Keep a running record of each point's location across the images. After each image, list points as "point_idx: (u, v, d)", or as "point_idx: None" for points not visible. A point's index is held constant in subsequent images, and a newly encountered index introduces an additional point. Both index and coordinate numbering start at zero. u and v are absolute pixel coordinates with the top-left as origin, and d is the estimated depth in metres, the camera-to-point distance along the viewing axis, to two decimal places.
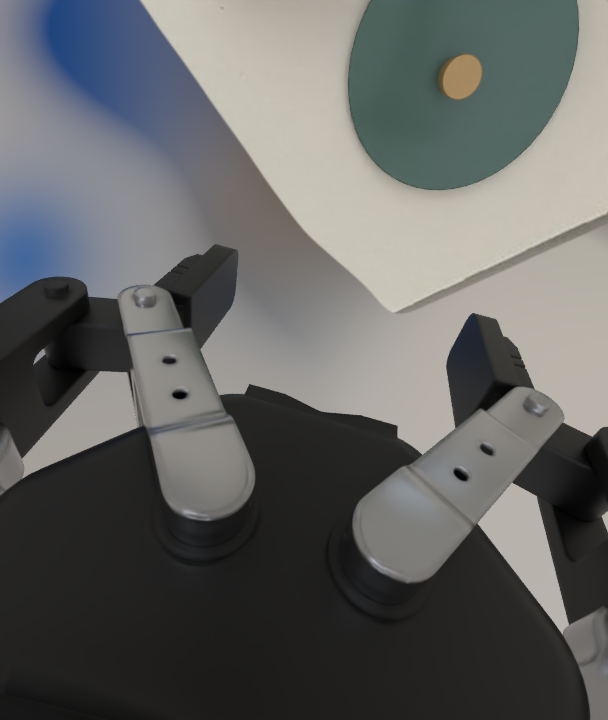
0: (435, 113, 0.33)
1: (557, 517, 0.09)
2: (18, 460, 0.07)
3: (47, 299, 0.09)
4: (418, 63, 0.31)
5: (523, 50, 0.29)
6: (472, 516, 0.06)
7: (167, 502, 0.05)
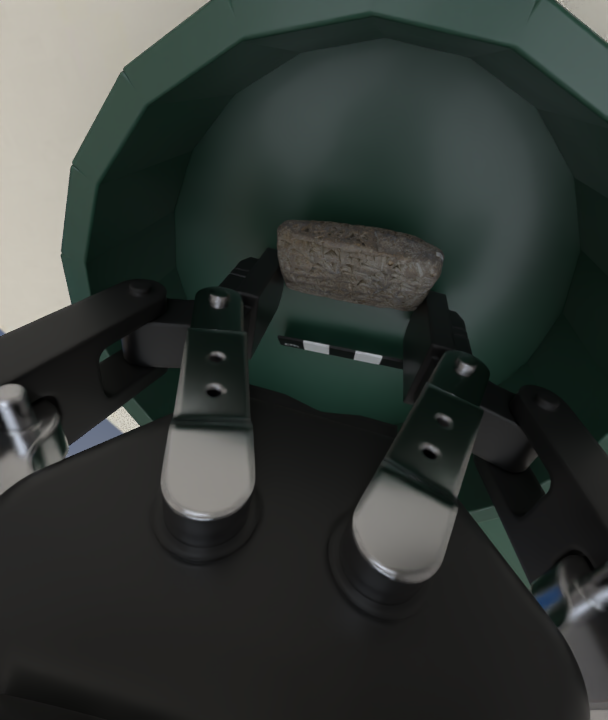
0: None
1: (495, 477, 0.10)
2: (61, 445, 0.07)
3: (129, 297, 0.09)
4: None
5: None
6: (451, 492, 0.06)
7: (161, 490, 0.05)
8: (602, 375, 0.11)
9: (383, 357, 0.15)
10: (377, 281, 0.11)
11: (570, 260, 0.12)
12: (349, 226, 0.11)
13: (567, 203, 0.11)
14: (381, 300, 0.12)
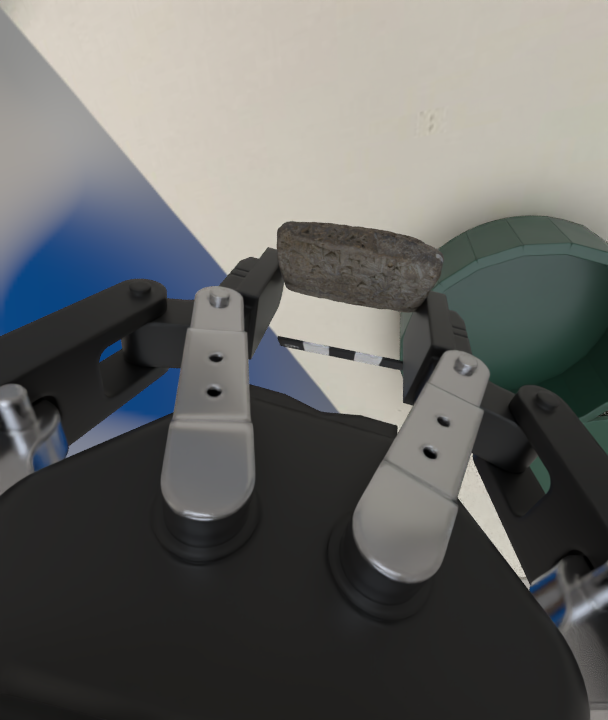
0: None
1: (495, 476, 0.10)
2: (62, 444, 0.07)
3: (129, 298, 0.09)
4: None
5: None
6: (451, 492, 0.06)
7: (162, 490, 0.05)
8: None
9: (383, 358, 0.15)
10: (377, 283, 0.11)
11: None
12: (349, 228, 0.11)
13: None
14: (381, 301, 0.12)
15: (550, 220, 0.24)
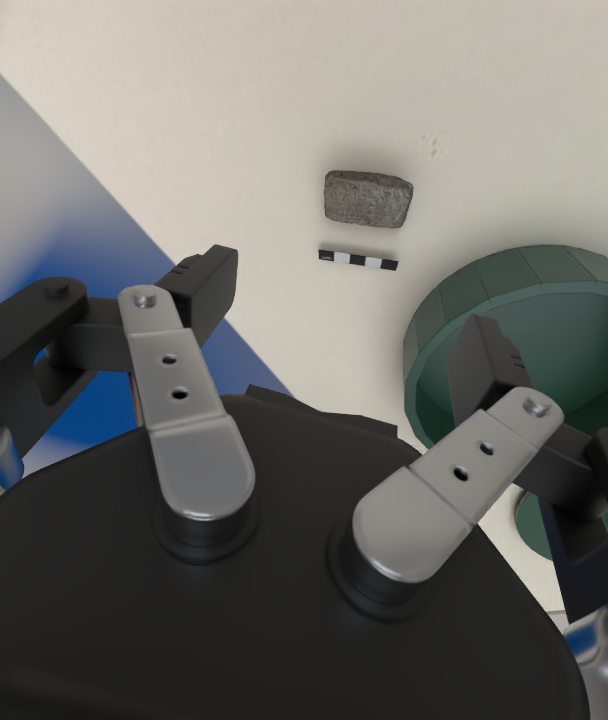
0: None
1: (557, 517, 0.09)
2: (18, 460, 0.07)
3: (47, 298, 0.09)
4: None
5: None
6: (472, 516, 0.06)
7: (167, 502, 0.05)
8: None
9: (382, 259, 0.25)
10: (378, 203, 0.21)
11: None
12: (364, 172, 0.21)
13: None
14: (381, 218, 0.22)
15: (567, 251, 0.22)
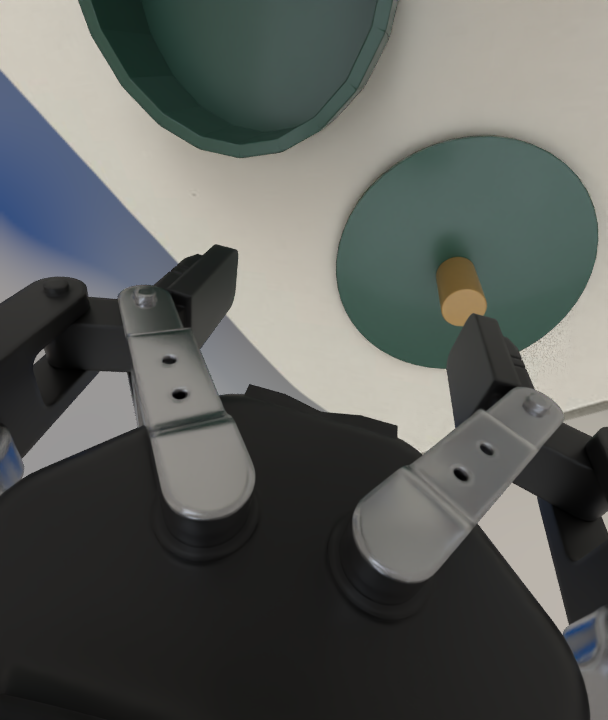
0: (435, 304, 0.29)
1: (557, 517, 0.09)
2: (18, 460, 0.07)
3: (47, 299, 0.09)
4: (414, 260, 0.27)
5: (533, 255, 0.26)
6: (472, 516, 0.06)
7: (167, 502, 0.05)
8: None
9: None
10: None
11: None
12: None
13: None
14: None
15: None
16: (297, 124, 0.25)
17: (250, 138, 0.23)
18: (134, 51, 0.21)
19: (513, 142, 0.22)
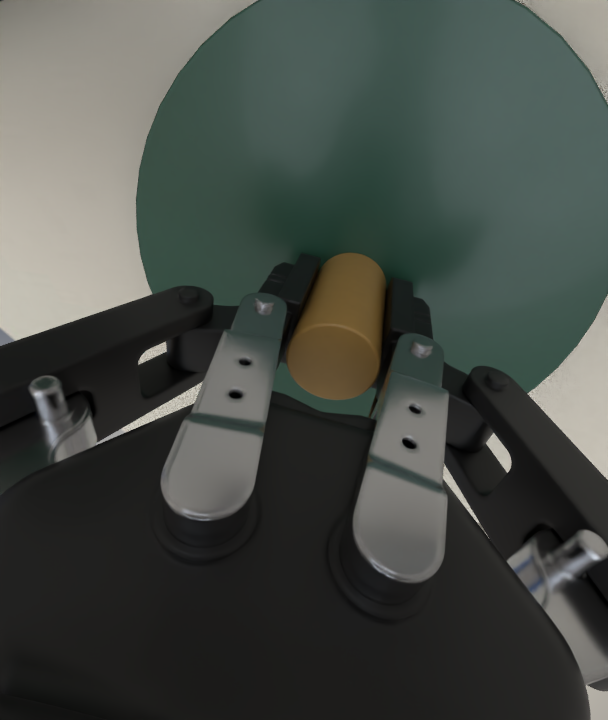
0: None
1: (457, 459, 0.10)
2: (88, 440, 0.07)
3: (176, 303, 0.09)
4: (273, 257, 0.14)
5: (495, 253, 0.13)
6: (436, 479, 0.06)
7: (160, 482, 0.05)
8: None
9: None
10: None
11: None
12: None
13: None
14: None
15: None
16: None
17: None
18: None
19: None
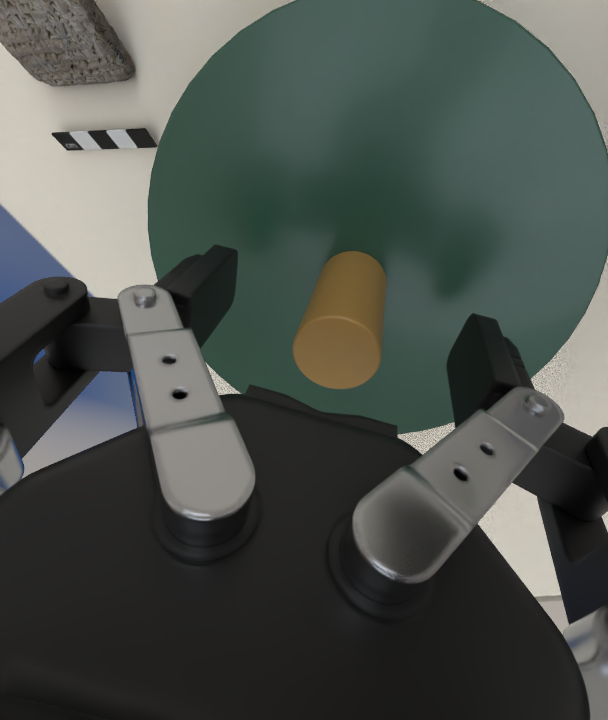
0: None
1: (557, 517, 0.09)
2: (18, 460, 0.07)
3: (47, 298, 0.09)
4: (278, 256, 0.15)
5: (489, 250, 0.13)
6: (472, 516, 0.06)
7: (167, 502, 0.05)
8: None
9: (126, 130, 0.18)
10: (54, 27, 0.15)
11: None
12: None
13: None
14: (81, 57, 0.16)
15: None
16: None
17: None
18: None
19: None
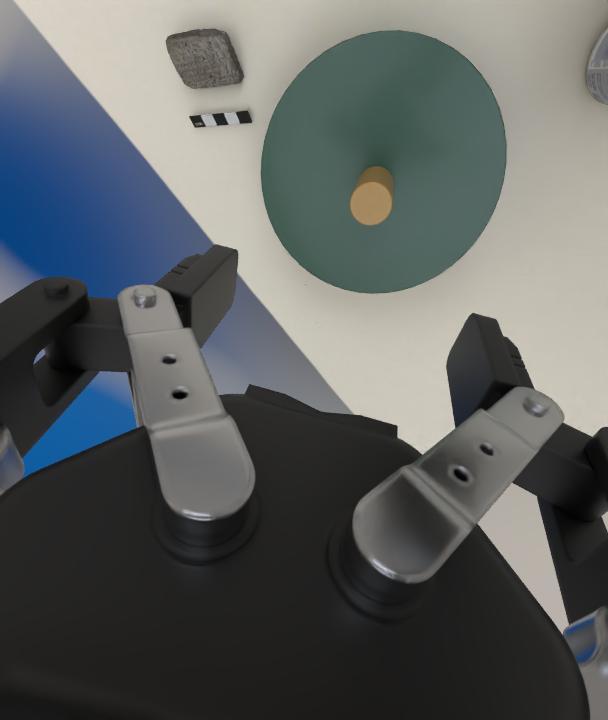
0: None
1: (557, 517, 0.09)
2: (18, 460, 0.07)
3: (47, 298, 0.09)
4: (334, 171, 0.28)
5: (447, 163, 0.26)
6: (472, 516, 0.06)
7: (167, 502, 0.05)
8: None
9: (236, 112, 0.31)
10: (208, 55, 0.28)
11: None
12: None
13: None
14: (218, 70, 0.29)
15: None
16: None
17: None
18: None
19: (417, 36, 0.23)
